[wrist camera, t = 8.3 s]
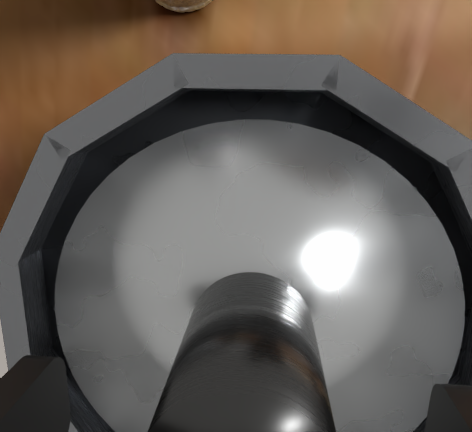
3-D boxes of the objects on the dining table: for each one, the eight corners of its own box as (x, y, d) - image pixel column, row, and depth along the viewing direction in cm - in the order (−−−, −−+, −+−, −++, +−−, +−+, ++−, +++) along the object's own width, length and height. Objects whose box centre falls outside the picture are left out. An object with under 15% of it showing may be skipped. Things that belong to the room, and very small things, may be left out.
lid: (491, 135, 11) (757, 164, 5) (409, 482, 14) (510, 751, 8) (62, 104, 11) (-153, 96, 6) (77, 441, 14) (-50, 660, 9)
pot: (476, 87, 19) (734, 58, 9) (431, 352, 23) (571, 559, 13) (63, 81, 21) (-154, 50, 10) (85, 331, 25) (-54, 500, 14)
